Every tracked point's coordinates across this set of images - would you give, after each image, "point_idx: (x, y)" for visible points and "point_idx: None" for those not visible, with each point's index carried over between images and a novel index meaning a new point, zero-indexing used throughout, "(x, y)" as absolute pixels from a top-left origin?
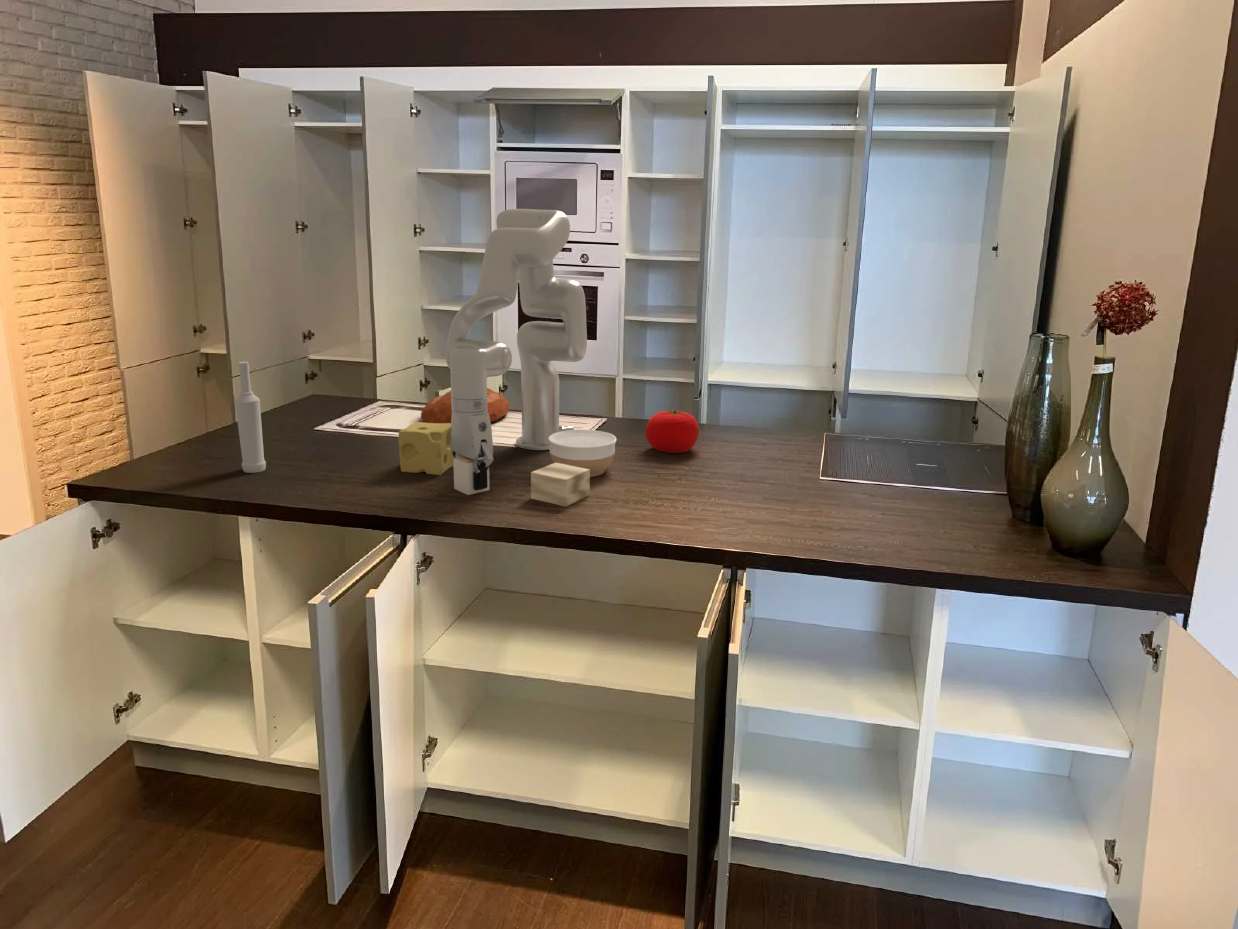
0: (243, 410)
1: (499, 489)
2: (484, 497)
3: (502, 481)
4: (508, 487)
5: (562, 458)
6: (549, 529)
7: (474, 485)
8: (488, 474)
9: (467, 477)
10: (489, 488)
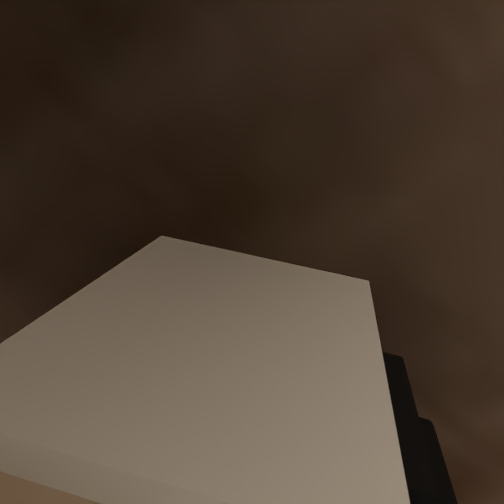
0: None
1: (434, 215)
2: (465, 433)
3: (281, 5)
4: (471, 109)
5: None
6: None
7: None
8: (380, 369)
9: None
10: (368, 285)
